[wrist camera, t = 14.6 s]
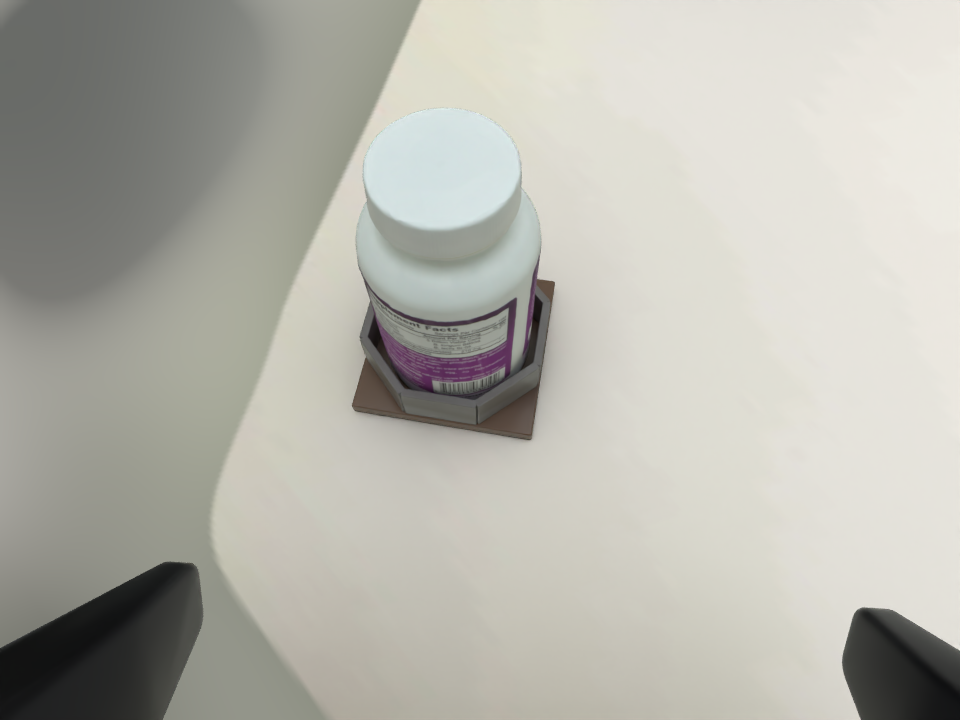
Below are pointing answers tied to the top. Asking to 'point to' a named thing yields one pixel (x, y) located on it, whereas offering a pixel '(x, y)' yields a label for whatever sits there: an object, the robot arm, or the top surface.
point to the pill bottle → (449, 251)
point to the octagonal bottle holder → (491, 413)
